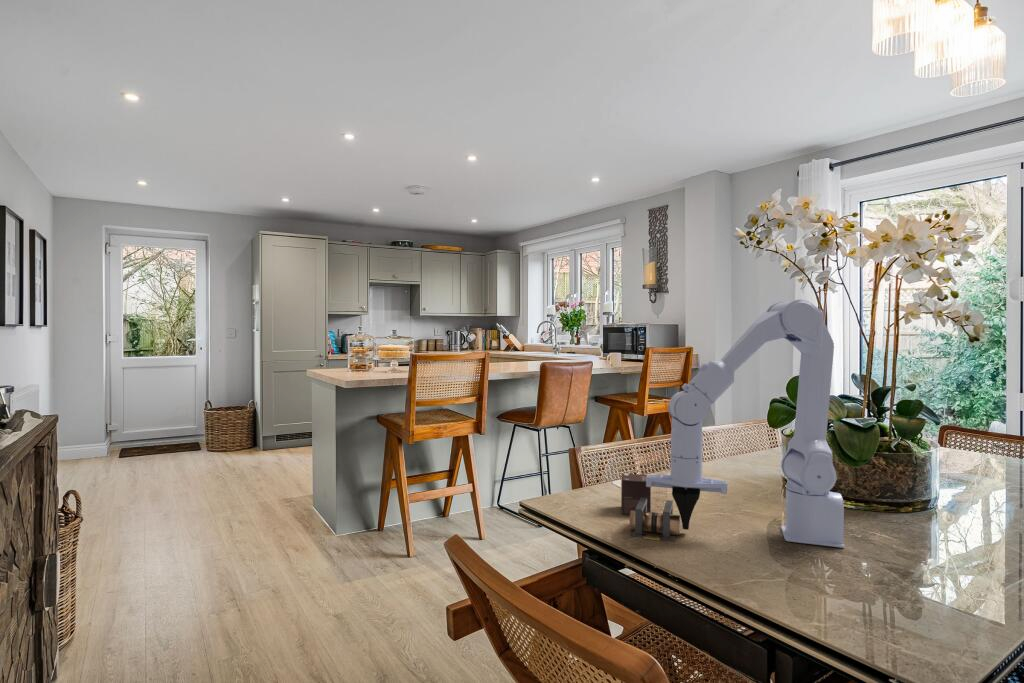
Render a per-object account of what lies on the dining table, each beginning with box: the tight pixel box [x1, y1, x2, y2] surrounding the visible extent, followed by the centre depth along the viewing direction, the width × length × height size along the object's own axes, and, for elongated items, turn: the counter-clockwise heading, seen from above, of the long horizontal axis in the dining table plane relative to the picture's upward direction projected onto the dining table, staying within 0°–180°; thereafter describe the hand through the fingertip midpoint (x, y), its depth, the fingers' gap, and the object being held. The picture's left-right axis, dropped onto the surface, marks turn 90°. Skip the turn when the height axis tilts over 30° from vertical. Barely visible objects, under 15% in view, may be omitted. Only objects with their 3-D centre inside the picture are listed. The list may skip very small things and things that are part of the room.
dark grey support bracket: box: [656, 499, 676, 542], centre depth 111 cm, size 3×9×5 cm, turn 160°
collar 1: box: [629, 498, 648, 538], centre depth 113 cm, size 3×9×5 cm, turn 161°
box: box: [620, 473, 652, 516], centre depth 124 cm, size 6×6×7 cm
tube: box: [629, 510, 681, 536], centre depth 111 cm, size 9×4×4 cm, turn 71°
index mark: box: [642, 535, 661, 542], centre depth 107 cm, size 3×1×1 cm, turn 71°
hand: (685, 527), depth 110 cm, fingers closed
